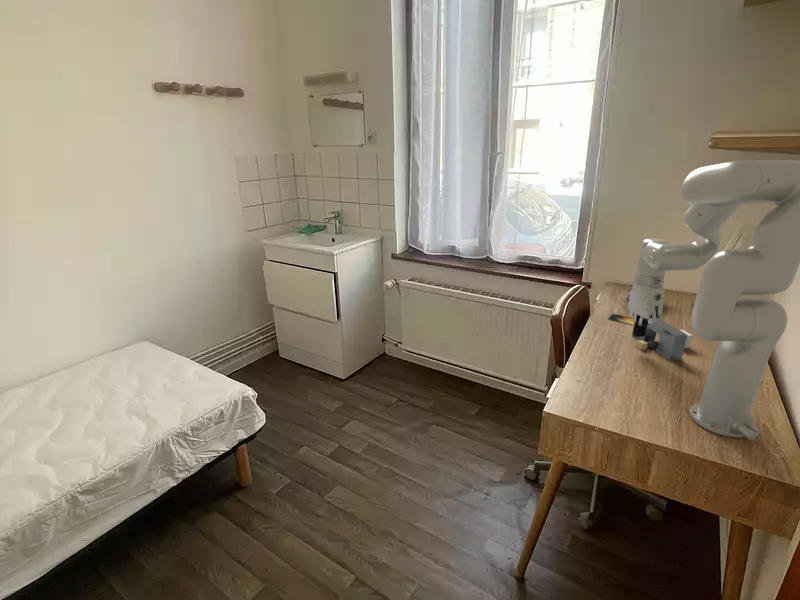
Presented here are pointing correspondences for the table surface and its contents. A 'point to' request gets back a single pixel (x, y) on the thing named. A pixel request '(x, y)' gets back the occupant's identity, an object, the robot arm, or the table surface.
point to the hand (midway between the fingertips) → (638, 335)
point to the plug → (644, 345)
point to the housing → (666, 339)
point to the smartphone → (621, 319)
